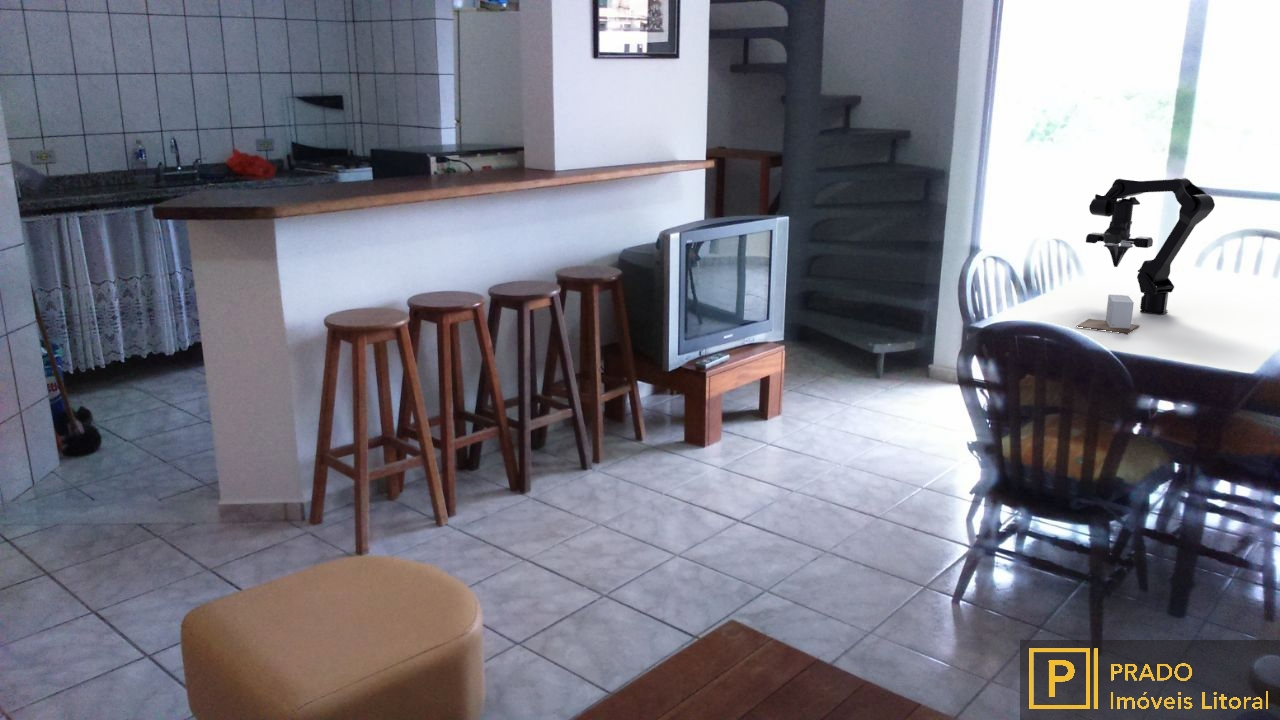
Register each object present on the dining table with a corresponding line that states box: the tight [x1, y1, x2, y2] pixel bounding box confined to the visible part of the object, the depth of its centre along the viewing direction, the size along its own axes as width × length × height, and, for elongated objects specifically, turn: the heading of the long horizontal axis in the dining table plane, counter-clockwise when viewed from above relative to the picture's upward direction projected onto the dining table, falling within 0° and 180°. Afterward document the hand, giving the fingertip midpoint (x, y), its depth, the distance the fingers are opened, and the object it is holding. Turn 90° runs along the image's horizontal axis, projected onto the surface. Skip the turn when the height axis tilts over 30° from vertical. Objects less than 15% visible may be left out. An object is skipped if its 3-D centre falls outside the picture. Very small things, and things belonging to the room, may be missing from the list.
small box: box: [1105, 294, 1135, 329], centre depth 288 cm, size 8×6×10 cm
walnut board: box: [1075, 318, 1140, 335], centre depth 289 cm, size 14×12×1 cm
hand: (1115, 266), depth 318 cm, fingers closed
